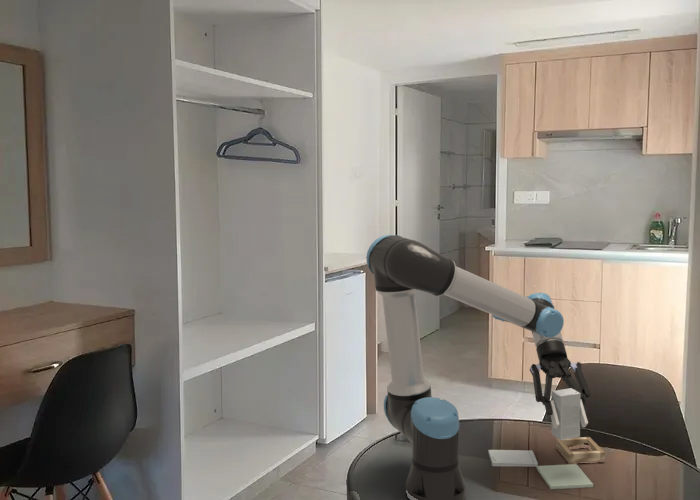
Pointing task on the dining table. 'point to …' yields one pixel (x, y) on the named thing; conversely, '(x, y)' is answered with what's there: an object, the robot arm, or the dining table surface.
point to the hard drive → (512, 458)
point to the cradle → (579, 456)
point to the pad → (564, 476)
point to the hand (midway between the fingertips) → (570, 425)
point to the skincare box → (567, 413)
